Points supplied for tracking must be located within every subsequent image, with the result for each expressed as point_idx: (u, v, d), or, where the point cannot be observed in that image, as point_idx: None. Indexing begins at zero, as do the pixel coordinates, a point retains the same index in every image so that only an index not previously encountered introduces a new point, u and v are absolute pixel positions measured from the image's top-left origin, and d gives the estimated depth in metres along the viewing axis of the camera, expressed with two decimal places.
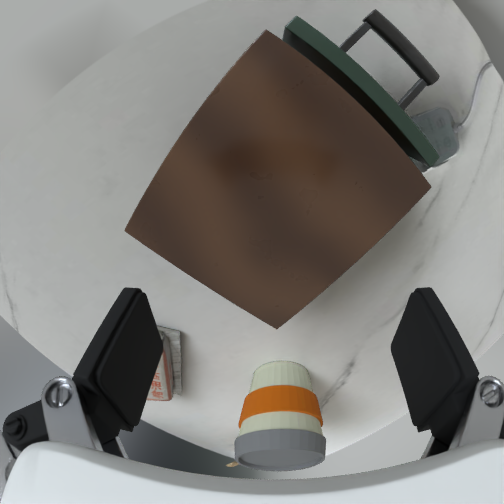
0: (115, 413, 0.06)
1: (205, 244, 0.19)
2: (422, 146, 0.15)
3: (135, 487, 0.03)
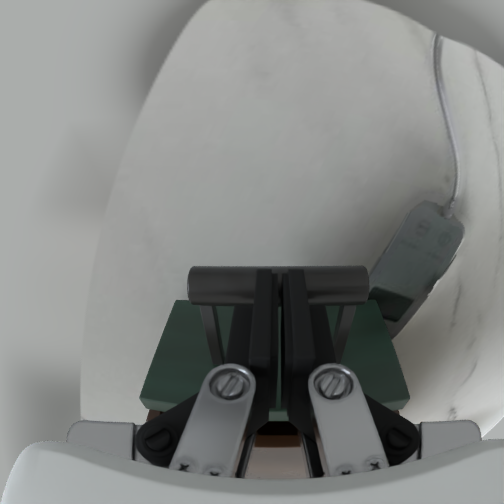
0: (269, 396, 0.07)
1: None
2: None
3: (135, 486, 0.03)
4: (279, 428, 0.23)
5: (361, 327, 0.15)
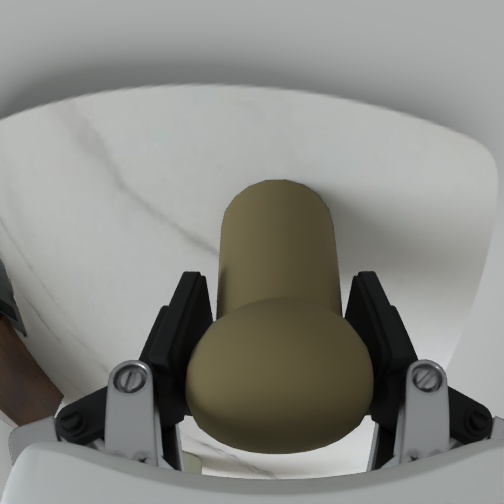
0: (183, 396, 0.07)
1: None
2: None
3: (135, 486, 0.03)
4: None
5: None
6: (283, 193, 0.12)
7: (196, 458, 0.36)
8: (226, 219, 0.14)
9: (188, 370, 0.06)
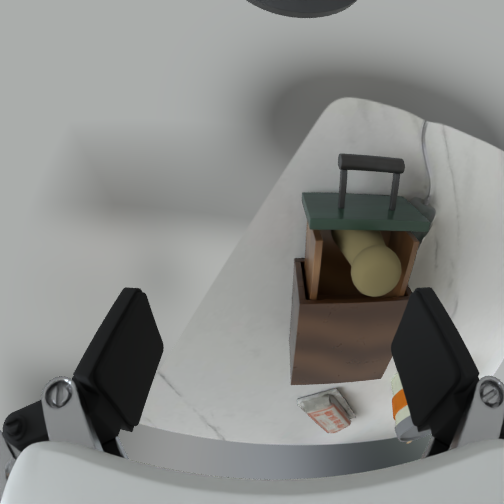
0: (115, 414, 0.06)
1: (329, 372, 0.37)
2: (417, 227, 0.26)
3: (135, 487, 0.03)
4: None
5: (399, 202, 0.30)
6: None
7: None
8: None
9: (357, 263, 0.25)
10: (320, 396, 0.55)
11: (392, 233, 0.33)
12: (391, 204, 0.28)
